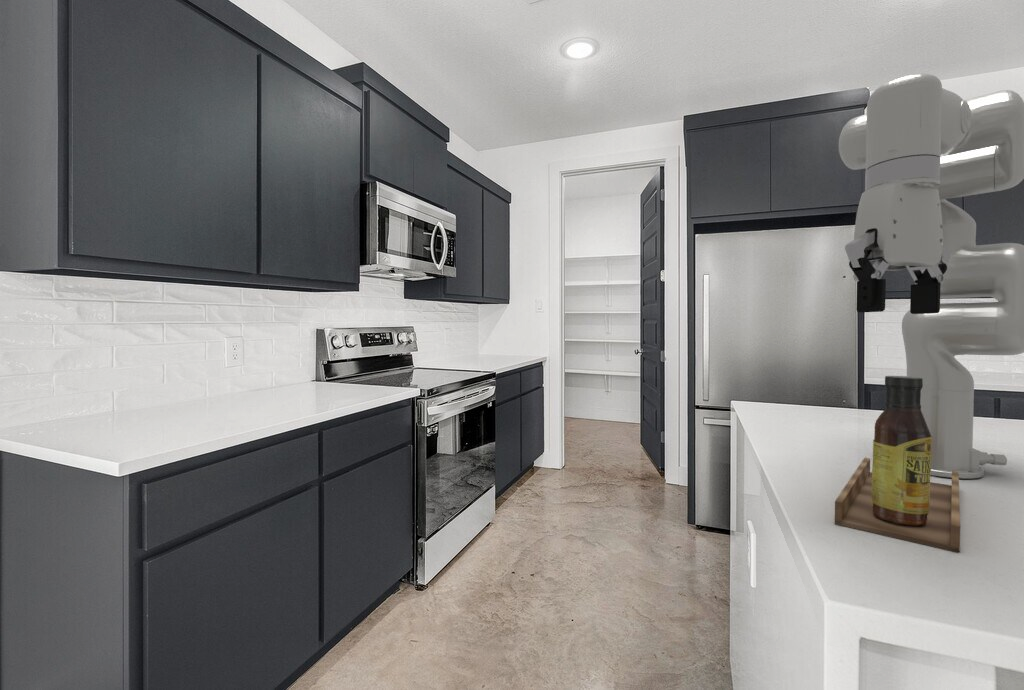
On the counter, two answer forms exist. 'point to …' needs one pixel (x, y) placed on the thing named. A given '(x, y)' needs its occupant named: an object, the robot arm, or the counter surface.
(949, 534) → the tray
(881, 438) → the sauce bottle
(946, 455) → the robot arm
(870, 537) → the counter surface
